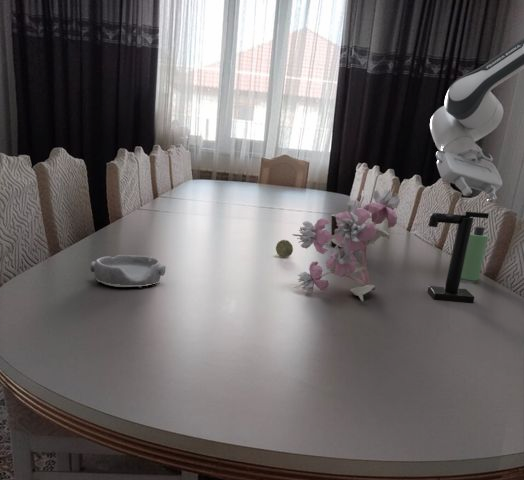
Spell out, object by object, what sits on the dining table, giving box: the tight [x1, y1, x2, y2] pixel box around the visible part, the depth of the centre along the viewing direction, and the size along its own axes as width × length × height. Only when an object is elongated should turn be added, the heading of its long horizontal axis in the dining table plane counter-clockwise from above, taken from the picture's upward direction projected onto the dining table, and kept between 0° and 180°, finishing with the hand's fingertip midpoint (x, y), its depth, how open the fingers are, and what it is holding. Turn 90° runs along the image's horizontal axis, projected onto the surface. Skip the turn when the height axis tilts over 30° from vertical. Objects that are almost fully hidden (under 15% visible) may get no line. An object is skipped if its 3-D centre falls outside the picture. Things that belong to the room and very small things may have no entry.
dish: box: [90, 254, 167, 289], centre depth 114 cm, size 14×14×5 cm
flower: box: [291, 184, 401, 302], centre depth 115 cm, size 20×22×25 cm
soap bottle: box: [460, 225, 489, 282], centre depth 141 cm, size 5×5×14 cm
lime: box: [275, 239, 294, 259], centre depth 152 cm, size 4×5×5 cm
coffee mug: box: [330, 213, 344, 249], centre depth 174 cm, size 12×9×10 cm
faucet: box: [427, 210, 490, 304], centre depth 119 cm, size 12×7×20 cm, turn 85°
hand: (480, 197), depth 133 cm, fingers open, 8 cm apart
